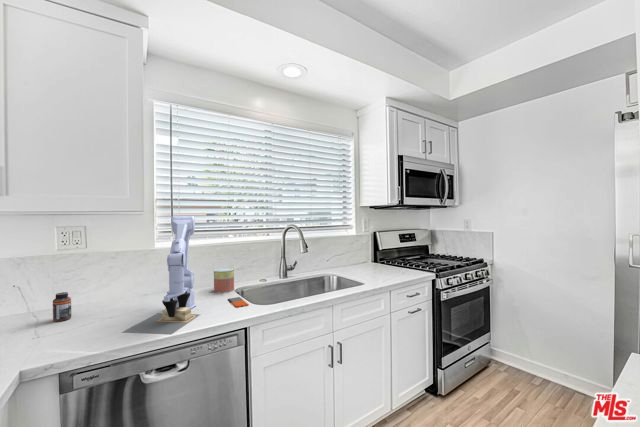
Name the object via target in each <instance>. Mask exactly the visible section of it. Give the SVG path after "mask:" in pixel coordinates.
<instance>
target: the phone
mask: <svg viewBox="0 0 640 427" xmlns="http://www.w3.org/2000/svg"><path fill="white" fill-rule="evenodd" d="M227 301H228V302H229V303H230V304H231V305H232V306H233V307H234V308H235V309H238V308H242V307H248V306H250V304H249V303H248V302H246V301H245V300H244V299H243V298H242V297H240V296H237V297H231V298H228V299H227Z"/></svg>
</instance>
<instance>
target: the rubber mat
mask: <svg viewBox="0 0 640 427" xmlns="http://www.w3.org/2000/svg"><path fill="white" fill-rule="evenodd" d="M199 316H201V313H200V314H197V313H191V317H190V318H189V319H187V320H185V321H177V320H162V312H157V313H155V314H153V315H152V316H150V317H148V318H146V319H144V320H142V321H140V322H139V323H136V324H134V325H133V326H131V327H129V328H127V329H125V330H123V331H121V333H122V334H123V333H127V334H153V335H173V334H174V333H176V332H178V331H179V330H180V329H182V328H183V327H186V325H187V324H189V323H191V322H192V321H194V320H196V318H198V317H199Z"/></svg>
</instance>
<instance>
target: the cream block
mask: <svg viewBox="0 0 640 427" xmlns="http://www.w3.org/2000/svg"><path fill="white" fill-rule="evenodd" d="M161 313H162V320H177V321H185V320H187V319H189V318H190V317H191V314H192V309H191V308H189V307H176V308H175V316H174V317H169V316H168V313H167V310H166V308H164V309H162V312H161Z"/></svg>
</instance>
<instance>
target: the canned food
mask: <svg viewBox="0 0 640 427" xmlns="http://www.w3.org/2000/svg"><path fill="white" fill-rule="evenodd" d="M233 291H235V268H234V267H220V268H215V269H213V292H214V293H218V294H224V293H231V292H233Z"/></svg>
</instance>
